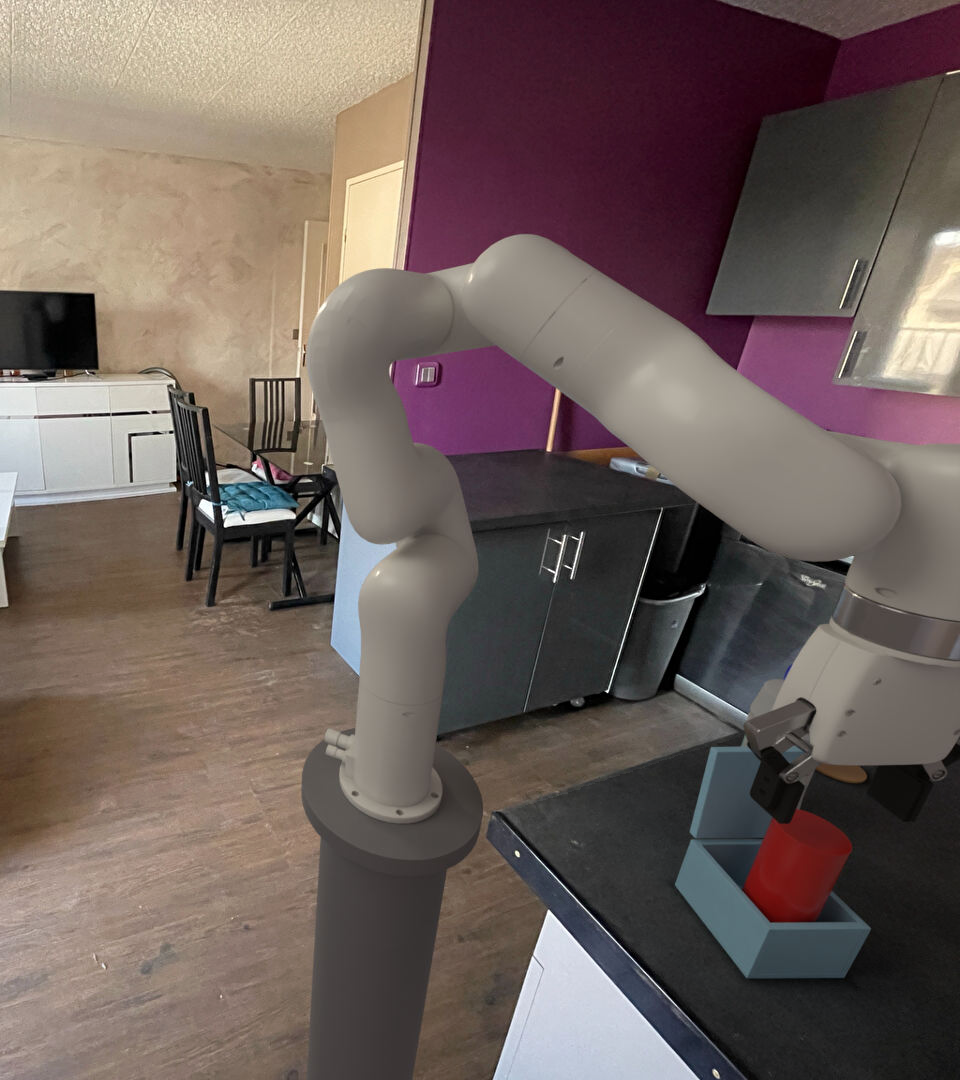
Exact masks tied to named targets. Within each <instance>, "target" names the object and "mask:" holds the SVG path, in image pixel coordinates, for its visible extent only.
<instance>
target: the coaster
mask: <svg viewBox="0 0 960 1080" xmlns="http://www.w3.org/2000/svg"><path fill="white" fill-rule="evenodd" d="M815 771H817V772H819V773H821V774H823V775H825V776H827V777H830V778H832V779H834V780H837V781H840V782H844V783H849V784H862V783H864V782H865V781H866V780H867V778H868V775H867V772H866V771H865V770H864V769H863V768H862V767H861V765H830V764H821V765H820V766H818V767H817V768H816V769H815Z"/></svg>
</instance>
